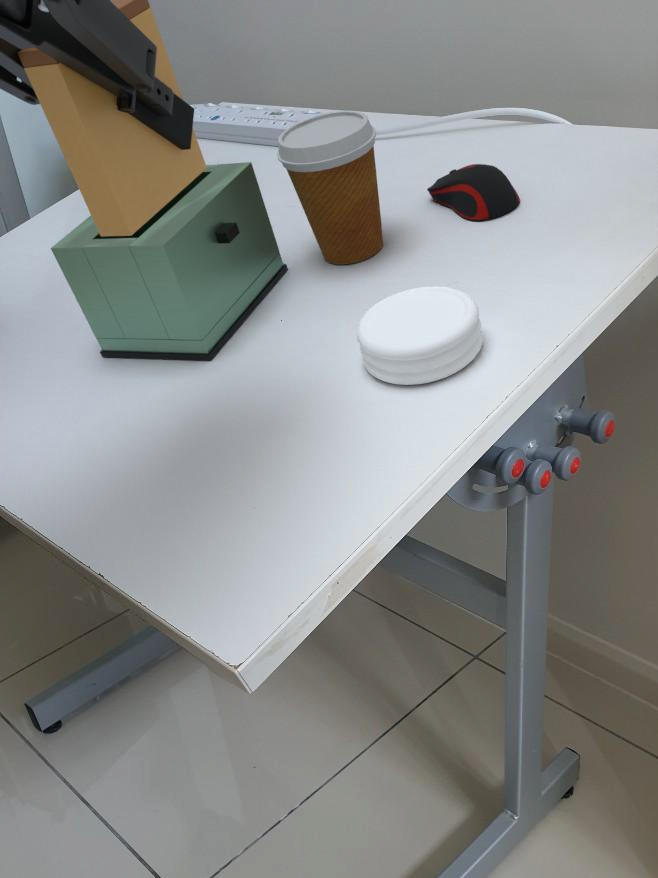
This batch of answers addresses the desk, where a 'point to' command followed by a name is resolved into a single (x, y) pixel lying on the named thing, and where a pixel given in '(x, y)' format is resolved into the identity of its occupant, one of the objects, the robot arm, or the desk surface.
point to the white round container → (420, 335)
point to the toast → (113, 137)
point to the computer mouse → (476, 192)
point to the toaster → (177, 270)
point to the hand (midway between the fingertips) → (168, 130)
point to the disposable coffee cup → (336, 182)
